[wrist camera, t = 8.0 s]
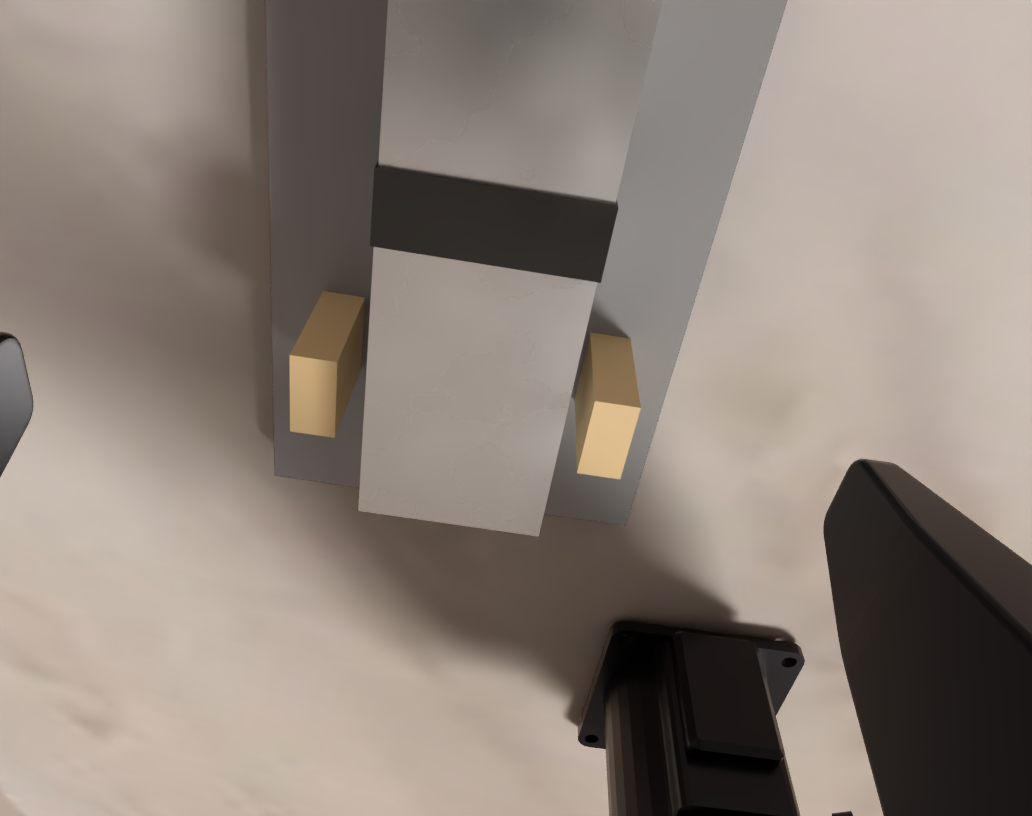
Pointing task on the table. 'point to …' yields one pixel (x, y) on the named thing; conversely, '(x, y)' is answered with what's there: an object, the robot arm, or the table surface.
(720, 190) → the plate
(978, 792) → the robot arm
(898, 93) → the table surface
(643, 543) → the table surface
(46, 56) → the table surface
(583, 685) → the table surface
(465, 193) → the air duct
